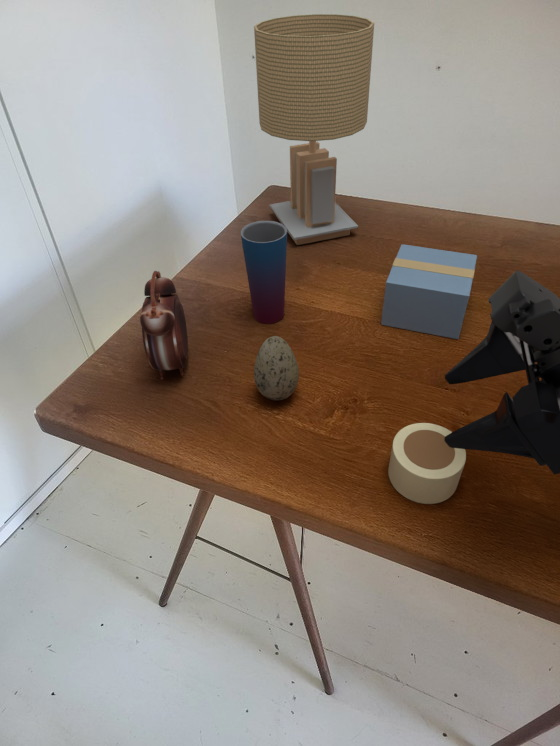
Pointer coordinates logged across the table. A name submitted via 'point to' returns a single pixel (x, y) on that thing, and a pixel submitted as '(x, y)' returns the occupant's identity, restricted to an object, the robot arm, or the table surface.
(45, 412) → the table surface
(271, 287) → the cup
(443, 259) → the carton
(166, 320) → the alarm clock
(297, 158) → the desk lamp
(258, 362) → the decorative egg
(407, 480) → the tape
